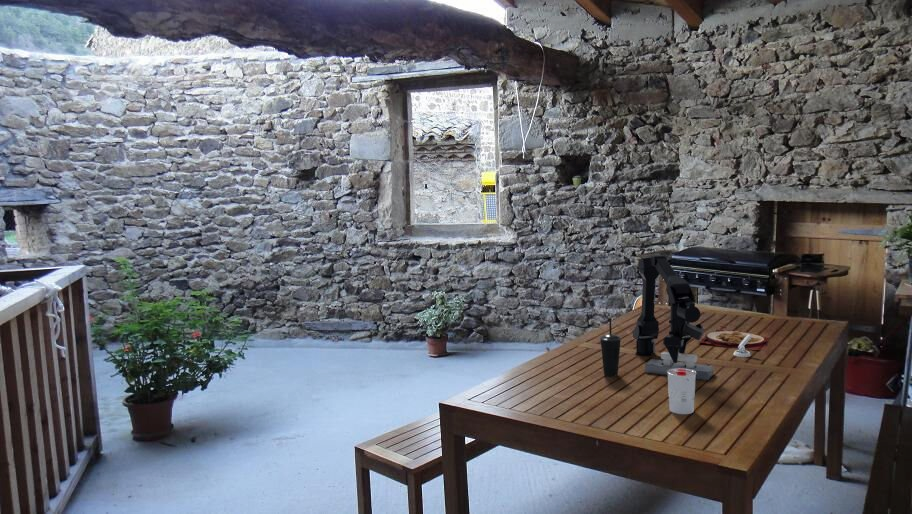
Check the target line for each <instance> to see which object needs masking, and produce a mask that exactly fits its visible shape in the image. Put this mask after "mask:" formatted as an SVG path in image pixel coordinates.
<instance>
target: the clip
mask: <svg viewBox="0 0 912 514" xmlns="http://www.w3.org/2000/svg"><path fill="white" fill-rule="evenodd" d="M660 360H663V365H668V366H672V362H673V360H672V358H671V356H670V354H669V352H668V351H662V352H661V353H660ZM677 362H683V363H686V368H694V369H695V364H696V363H697V362H698V355H697V354H689V353H685V354H681V353H679V354H678V360H677Z"/></svg>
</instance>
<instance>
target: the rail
mask: <svg viewBox="0 0 912 514" xmlns="http://www.w3.org/2000/svg"><path fill="white" fill-rule="evenodd" d="M674 368H684V369H690V370H693V371H695V372H696V377H695V380H702V381H709V380H710V379H711V378H712V376H714V366H713V365H709V364H708V365H706V364H698V363H695V369H694V368H686V362H682V361H677V363H674V362H673V361H672V366H668V365H663V359H655V358H654V359H653V358H652V359H650V360H648V361H647V362H646V363H645V364H644V372H645V374H657V375H662V376H663V375H664V376H668V373H667V370H669V369H674Z"/></svg>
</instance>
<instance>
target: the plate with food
mask: <svg viewBox="0 0 912 514" xmlns="http://www.w3.org/2000/svg"><path fill="white" fill-rule="evenodd" d="M720 327H721V328H722V329H720V330H719V329H716V330H715V331H712V332H707V333H706V334H705V336H704V337H702V338H701V339H700V340H697V342H698V343H702V344H705V345H710V346H718V347H725V348H726V349H727V348H732V349H738V346H739V344H740V343H741V342H742V341H743V340H744V338H745V337H746V336H747V335H748V334H749V335H750V336H751V338H750V340H749V341H748V342H747V343H746V344H745V346H744V347H745V351H749V350H751V351H753V350H754V351H761V350H762V349H761V348H762V347H764V348H765V347H766V346H767V344H766V342H768V343H769V341H770V338H769V337H766V336H764V337H763V336H761V335H758V334H756V333H755V334H754V333H750V332H745V331H744V332H742V331H740V330H738V329H735V330H734V329H733V330H731V329H729V330H728V329H727V326H724V325H720ZM725 329H727V330H725Z"/></svg>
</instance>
